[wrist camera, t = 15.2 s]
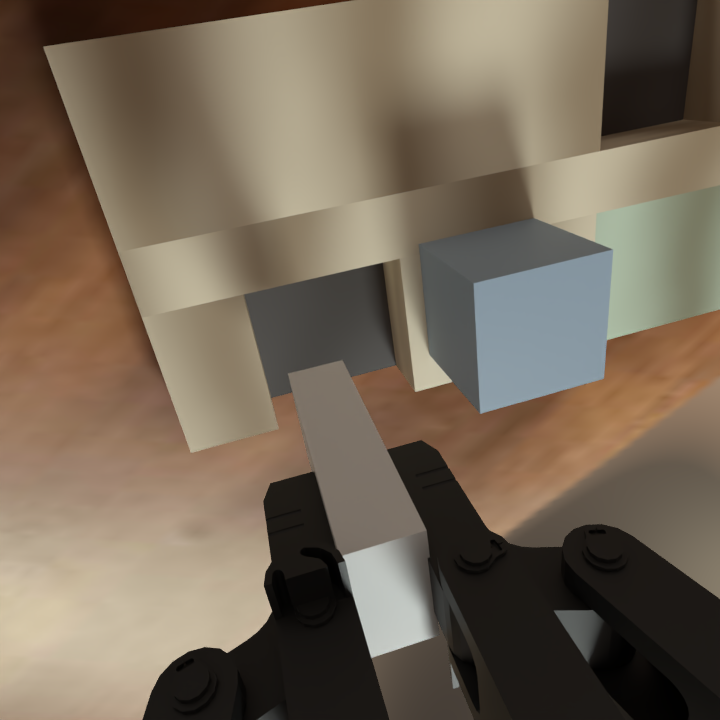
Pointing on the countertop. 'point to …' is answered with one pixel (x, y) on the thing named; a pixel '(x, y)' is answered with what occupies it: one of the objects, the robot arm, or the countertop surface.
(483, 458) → the countertop surface
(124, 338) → the countertop surface
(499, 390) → the cube
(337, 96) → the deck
